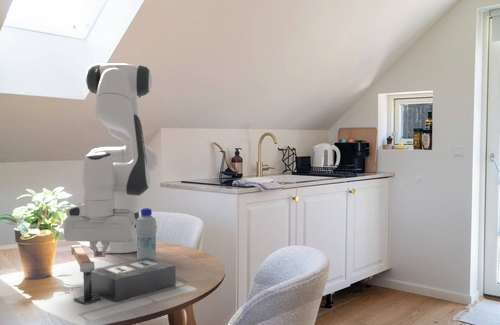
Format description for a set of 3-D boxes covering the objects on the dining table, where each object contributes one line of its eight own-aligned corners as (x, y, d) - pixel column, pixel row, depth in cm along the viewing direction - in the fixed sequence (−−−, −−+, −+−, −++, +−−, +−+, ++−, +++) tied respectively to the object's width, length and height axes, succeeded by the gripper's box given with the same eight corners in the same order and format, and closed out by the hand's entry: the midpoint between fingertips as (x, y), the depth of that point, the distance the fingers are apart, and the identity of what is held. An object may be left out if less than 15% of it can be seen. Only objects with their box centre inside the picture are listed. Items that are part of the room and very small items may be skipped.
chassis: (87, 291, 144) (87, 268, 144) (146, 276, 159) (146, 256, 159) (115, 302, 135) (115, 278, 134) (175, 285, 149) (175, 264, 149)
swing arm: (95, 272, 135) (95, 263, 135) (81, 273, 134) (80, 264, 134) (83, 252, 158) (82, 244, 158) (70, 253, 156) (70, 245, 156)
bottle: (149, 265, 172) (149, 206, 171) (161, 269, 167) (160, 208, 166) (132, 269, 167) (131, 208, 166) (143, 273, 163) (142, 210, 161)
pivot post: (74, 300, 137) (73, 271, 136) (91, 296, 140) (90, 268, 140) (84, 304, 133) (83, 275, 133) (101, 300, 137) (100, 271, 136)
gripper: (138, 207, 150) (138, 254, 150) (70, 206, 152) (71, 253, 152) (130, 211, 143) (131, 260, 144) (60, 210, 145) (61, 258, 146)
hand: (100, 256), depth 148 cm, fingers closed
